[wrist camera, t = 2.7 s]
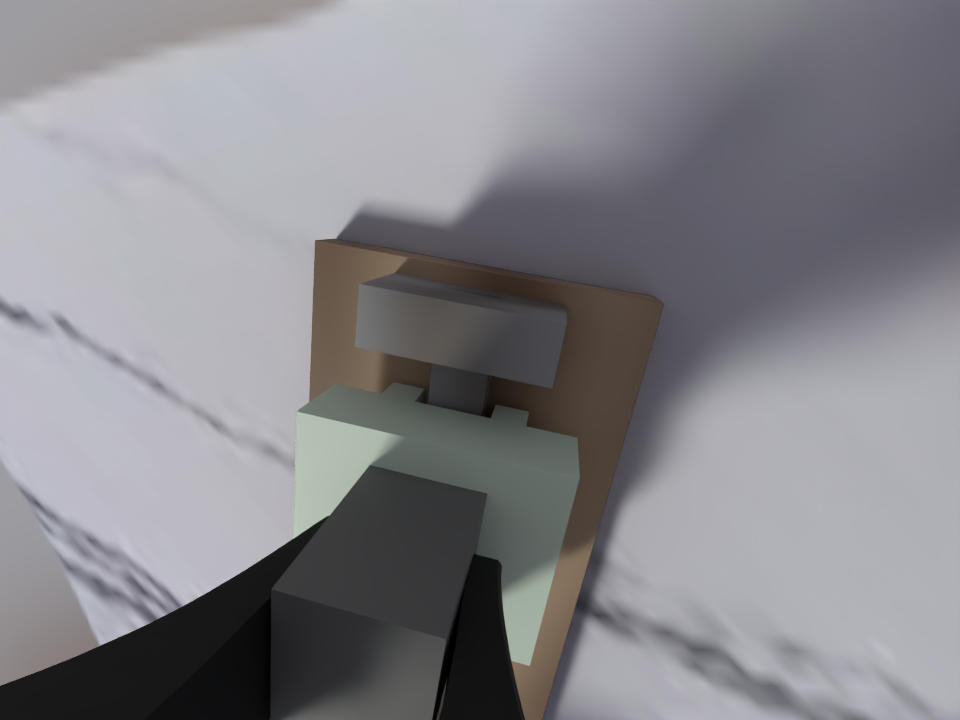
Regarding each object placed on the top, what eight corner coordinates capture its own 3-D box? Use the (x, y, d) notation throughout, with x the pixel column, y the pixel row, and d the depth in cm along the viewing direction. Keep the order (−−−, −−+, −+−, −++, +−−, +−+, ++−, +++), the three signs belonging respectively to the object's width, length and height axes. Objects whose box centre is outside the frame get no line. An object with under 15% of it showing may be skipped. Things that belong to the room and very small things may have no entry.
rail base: (655, 297, 13) (734, 364, 7) (492, 867, 22) (465, 1110, 16) (334, 238, 14) (163, 253, 8) (306, 803, 24) (216, 1006, 18)
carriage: (576, 421, 13) (588, 626, 7) (536, 582, 15) (514, 864, 8) (350, 372, 14) (159, 510, 7) (339, 530, 16) (180, 750, 9)
